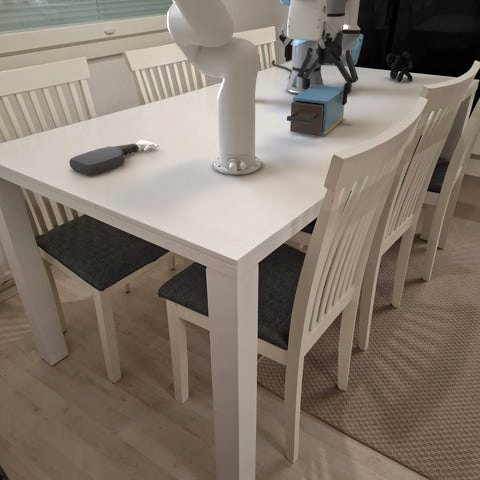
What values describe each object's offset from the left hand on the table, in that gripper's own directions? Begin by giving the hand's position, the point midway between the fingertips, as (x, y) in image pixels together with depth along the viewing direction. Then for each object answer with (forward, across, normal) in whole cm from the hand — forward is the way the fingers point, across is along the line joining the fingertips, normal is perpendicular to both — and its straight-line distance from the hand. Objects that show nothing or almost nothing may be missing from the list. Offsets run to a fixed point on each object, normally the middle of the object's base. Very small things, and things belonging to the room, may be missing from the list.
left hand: (304, 62), depth 125 cm
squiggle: (+22, -11, -92) cm, 95 cm away
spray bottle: (+22, +40, +38) cm, 59 cm away
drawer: (+21, 0, -9) cm, 23 cm away
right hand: (+16, 0, -20) cm, 26 cm away
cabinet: (+22, 0, -15) cm, 27 cm away
